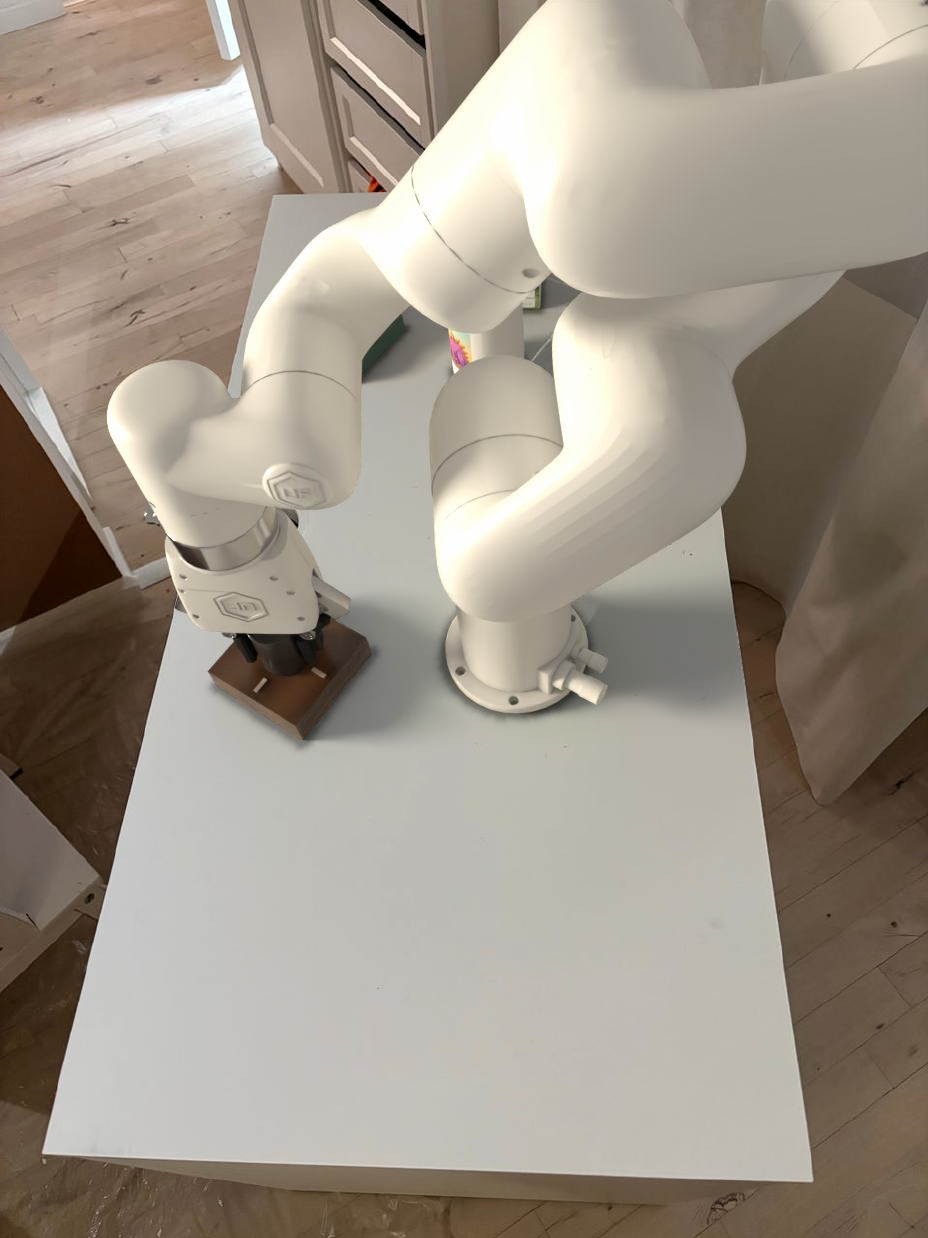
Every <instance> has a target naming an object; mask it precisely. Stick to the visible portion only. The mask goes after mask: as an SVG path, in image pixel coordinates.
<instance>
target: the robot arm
mask: <svg viewBox="0 0 928 1238" xmlns="http://www.w3.org/2000/svg"><path fill="white" fill-rule="evenodd" d="M760 50H761V71H760V76H759V82H758V85H757V84H756V85H749V86H740V87H728V88H727V87H726V88H713V85H712V84H711V80H710V78H709V75H708V71H707V69H706V66H705V63H704V60H703V58H702V56H701V53H700V50H699V48H698V46H697V44H696V41H695V39H694V37H693V35H692V32H691V30H690V29H689V27H688V26H687V24H686V22H685V20H684V19H683V17H682V16H681V14H680V13H679V11H678V10H677V8H675V6H674V5H673V4H672V2H671V1H670V0H546V1H544V3H543V4H542V5H541V6H540V7H539V8H538V9H537V10H536V11H535V12H534V13H533V14H532V16H531V17H530V18H529V19H528V20H527V21H526V23H525V24H524V25H523V26H522V27H521V28H520V30H519V31H518V32H517V34H516V35H515V36H514V37H513V38H512V39H511V41H510V42H509V43H508V45H507V46H506V47H505V49H504V50H503V51H502V52H501V53H500V55H499V56H498V57H497V58H496V60H495V61H494V62H493V64H492V65H491V66H490V67H489V68H488V70H487V71H486V72H485V74H484V75H483V76H482V77H481V78H480V80H479V81H478V82H477V83H476V85H475V86H474V87H473V88H472V90H471V91H470V92H469V94H468V95H467V96H466V98H464V100H463V102H462V103H461V104H460V105H459V106H458V108H457V109H456V110H455V111H454V112H453V114H452V115H451V117H450V118H449V119H448V120H447V122H445V124H444V126H443V127H442V128H441V129H440V130H439V132H438V133H437V134H436V136H435V137H434V138H433V139H432V140H431V142H430V143H429V144H428V146H427V147H426V148H425V150H423V152H422V153H421V154H420V156H419V157H418V158H417V159H416V160H415V161H414V163H412V165H411V166H410V168H409V169H408V170H407V172H406V173H405V174H404V176H403V177H401V179H400V181H399V182H398V183H396V185H395V186H394V188H393V189H392V190H391V191H390V192H389V194H388V195H387V196H386V197H385V198H384V200H383V201H382V202H381V203H379V205H377V206H374V207H371V208H368V209H364V210H360V211H358V212H355V213H354V214H352V215H350V216H348V217H346V218H344V219H342V220H340V221H338V222H336V223H334V224H332V225H330V226H329V227H327V228H325V229H324V230H322V231H320V233H318V234H317V235H316V236H315V237H314V238H313V239H311V241H309V243H308V244H307V245H306V246H305V247H304V248H303V249H302V251H301V252H300V253H299V254H298V256H297V257H296V258H295V259H294V261H293V262H292V263H291V264H290V265H289V267H288V269H287V270H286V271H285V272H284V274H283V275H282V276H281V278H280V279H279V281H278V282H277V283H276V284H275V286H274V287H273V288H272V290H271V291H270V293H268V296H267V297H266V299H264V301H263V303H262V304H261V306H260V308H259V309H258V311H257V313H256V315H255V317H254V319H253V321H252V323H251V325H250V328H249V331H248V335H247V338H246V343H245V348H244V355H243V363H242V373H241V385H240V396H238V397H232V396H231V393H229V390H228V389H227V386H226V385H225V383H224V382H223V381H222V380H221V378H220V377H219V376H218V375H217V374H216V373H215V372H213V371H212V369H210V368H208V367H206V366H204V365H202V364H200V363H198V362H195V361H191V360H185V359H169V360H161V361H157V362H153V363H150V364H147V365H146V366H143V367H141V368H139V369H137V370H135V371H133V373H131V374H129V375H128V376H127V377H125V379H123V380H122V381H121V383H119V384H118V385H117V386H116V388H115V390H114V391H113V393H112V395H111V398H110V400H109V403H108V405H107V411H106V421H107V422H106V423H107V428H108V432H109V435H110V437H111V439H112V441H113V443H114V445H115V447H116V449H117V451H118V452H119V455H120V456H121V457H122V459H123V461H124V463H125V464H126V466H127V468H128V469H129V472H130V474H131V475H132V476H133V479H134V481H135V482H136V484H137V486H138V487H139V489H140V490H141V492H142V494H143V496H144V498H145V499H146V501H147V502H148V504H149V505H147V506H146V507H145V509H144V520H145V522H146V524H147V525H156V526H157V527H159V528H160V529H163V531H164V532H165V535H166V537H165V540H164V551H165V557H166V561H167V565H168V569H169V572H170V576H171V579H172V582H173V585H174V588H175V590H176V592H177V593H176V594H177V596H176V600H175V604H174V609H175V610H176V611H178V612H180V613H183V614H186V615H188V616H189V618H190V620H191V621H192V623H194V625H195V626H197V627H198V628H199V629H201V630H204V631H208V632H213V633H221V635H222V636H223V637H224V638H227V639H232V640H233V641H232V642H235V644H236V646H237V648H238V649H240V650H241V652H242V654H243V656H244V658H245V659H246V661H247V663H254V662H255V661H257V656H258V654H257V652H256V650H255V648H254V646H253V644H252V642H251V641H250V639H249V637H248V635H247V633H256V634H298V635H297V645H298V647H299V649H300V651H301V654H302V656H303V658H304V660H305V662H306V663H307V664H315V660H316V654H317V651H322V649H323V644H324V635H323V632H322V630H321V629H322V628H324V627H326V626H327V625H329V624H330V621H331V620H332V619H334V620H338V619H340V618H342V617H344V616H347V615H349V614H350V609H351V604H352V598H351V597H350V596H348V595H347V594H345V593H343V592H342V591H340V590H339V589H337V588H335V587H334V586H332V585H331V584H329V583H327V582H325V581H324V579H323V576H322V573H321V570H320V567H319V565H318V563H317V560H316V558H315V556H314V554H313V552H312V551H311V549H310V547H309V545H308V543H307V541H306V539H305V538H304V536H303V535H302V533H301V532H300V530H299V529H298V527H297V526H296V525H295V523H294V522H293V521H292V520H291V518H290V517H289V516H288V515H287V513H286V512H285V511H283V510H282V509H285V510H295V511H318V510H319V511H320V510H325V509H330V508H333V507H336V506H338V505H340V504H341V503H343V502H345V501H346V500H348V498H350V496H351V495H353V493H354V492H355V490H356V488H357V487H358V483H359V480H360V476H361V471H362V378H363V377H362V376H363V375H362V359H363V358H364V356H365V354H366V353H367V351H368V350H369V349H370V347H371V346H372V345H373V344H374V342H375V341H376V340H377V339H378V338H379V337H380V336H381V335H382V333H383V332H384V331H385V330H386V329H387V328H388V327H389V326H390V324H391V323H392V322H393V321H394V320H395V319H396V318H397V317H398V316H399V315H400V314H402V313H403V312H405V311H406V310H407V309H409V308H410V307H413V308H414V309H415V310H417V311H418V312H419V313H420V314H422V315H423V316H425V317H426V318H427V319H429V320H431V321H432V322H434V323H436V324H438V325H440V326H441V327H444V328H445V329H450V330H453V331H456V332H460V333H471V334H478V333H482V332H485V331H488V330H491V329H493V328H494V327H496V326H497V325H499V324H500V323H501V322H502V321H503V320H504V319H506V318H507V317H508V316H509V315H510V314H511V313H512V312H513V311H514V310H515V309H516V308H517V307H518V306H519V305H520V304H521V303H522V302H523V301H524V300H525V299H526V298H527V297H528V296H529V295H530V294H531V293H532V292H533V291H534V290H535V289H536V288H537V287H538V286H539V285H540V284H541V285H542V283H543V282H544V281H545V280H547V278H548V277H549V276H550V275H552V274H553V275H554V276H555V277H556V278H558V279H559V280H561V281H562V282H563V283H565V284H566V285H568V286H569V287H571V288H573V289H574V290H577V291H581V292H580V293H578V295H576V297H575V298H574V299H573V300H572V301H571V302H570V303H569V304H568V305H567V307H566V308H565V309H564V310H563V311H562V313H561V315H560V316H559V318H558V320H557V322H556V325H555V327H554V330H553V334H552V342H551V348H552V349H551V354H552V355H551V356H552V357H551V359H552V372H553V375H552V374H550V373H549V372H548V371H547V369H544V368H543V367H542V366H541V365H539V364H537V363H535V362H534V361H531V360H529V359H526V358H525V357H524V358H520V357H516V356H509V355H494V356H489V357H484V358H481V359H478V360H475V361H473V362H471V363H469V364H467V365H465V366H464V367H462V368H461V369H459V370H458V371H457V372H456V373H455V374H454V373H453V374H452V375H451V376H450V377H449V378H448V379H447V381H446V382H445V383H444V384H443V386H442V387H441V389H440V391H439V392H438V394H437V396H436V398H435V402H434V403H433V407H432V410H431V414H430V419H429V425H428V426H429V427H428V451H429V469H430V487H431V489H430V491H431V497H432V498H431V499H432V510H433V511H432V513H433V531H434V533H433V535H434V548H435V560H436V565H437V569H438V575H439V578H440V579H439V580H440V581H441V584H442V587H443V588H444V591H445V592H446V595H447V596H448V597H449V599H450V600H451V601H452V602H453V603H454V607H455V612H456V615H455V617H454V618H453V619H452V621H451V623H450V625H449V628H448V631H447V634H446V639H445V643H444V644H445V645H444V646H445V648H444V649H445V659H446V665H447V668H448V671H449V673H450V677H451V678H452V680H453V682H454V683H455V685H456V686H457V688H458V689H459V690H460V691H461V692H462V693H463V694H464V695H465V696H466V697H468V698H469V700H472V701H473V702H474V703H476V704H477V705H480V706H482V707H484V708H486V709H488V710H491V711H496V712H500V713H503V714H527V713H533V712H536V711H540V710H544V709H546V708H548V707H551V706H552V705H555V704H556V703H558V702H559V701H561V700H562V699H563V698H565V697H566V696H568V695H569V693H570V692H571V691H572V692H573V693H575V694H577V695H578V697H581V698H582V699H584V700H586V701H588V702H590V703H592V704H594V705H596V706H599V705H600V703H601V702H602V701H603V699H604V698H605V696H606V693H607V691H608V688H609V685H608V684H607V683H605V682H603V681H601V680H599V679H597V678H596V677H594V676H592V675H590V674H589V675H588V674H586V673H584V672H585V669H586V666H587V667H588V668H590V669H591V670H593V671H596V672H597V673H600V674H602V673H603V672H604V671H605V669H606V667H607V665H608V663H609V658H608V657H606V656H604V655H602V654H600V653H598V652H597V651H592V650H591V649H589V638H588V635H587V629H586V627H585V625H584V623H583V621H582V619H581V617H580V615H579V614H578V613H577V612H576V610H575V609H574V608H573V606H572V604H573V603H574V602H575V601H576V600H578V599H579V598H582V597H584V596H585V595H587V594H589V593H590V592H593V591H594V590H596V589H597V588H599V587H600V586H602V585H604V584H606V583H608V582H609V581H611V580H612V579H614V578H616V577H618V576H620V575H621V574H623V573H624V572H626V571H628V570H630V569H632V568H633V567H635V566H637V565H638V564H639V563H641V562H644V561H645V560H647V559H648V558H650V557H651V556H654V555H655V554H657V553H658V552H660V551H661V550H663V549H665V548H667V547H669V546H670V545H672V544H673V543H676V542H677V541H679V540H680V539H682V538H683V537H685V536H687V535H688V534H690V533H691V532H693V531H695V530H696V529H698V528H700V527H701V525H703V524H704V523H706V522H707V521H708V520H709V519H711V518H712V517H713V516H714V515H715V514H716V513H717V512H718V511H719V510H720V509H721V508H722V507H723V505H724V504H725V503H726V502H727V500H728V499H729V498H730V497H731V495H732V494H733V492H734V490H735V489H736V487H737V485H738V484H739V481H740V479H741V477H742V474H743V472H744V468H745V464H746V458H747V437H746V436H747V435H746V429H745V424H744V420H743V415H742V411H741V408H740V405H739V402H738V398H737V394H736V391H735V387H734V384H733V383H734V382H733V379H734V376H735V373H736V370H737V368H738V367H739V366H740V365H741V363H743V362H744V360H746V359H747V358H748V357H749V356H751V354H753V353H754V352H755V351H756V350H758V349H759V348H760V347H762V346H763V345H764V344H765V343H767V342H768V341H769V340H770V339H772V338H773V337H774V336H776V335H777V334H778V333H779V332H781V331H782V330H783V329H785V328H786V327H787V326H788V325H789V324H791V323H792V322H794V321H795V320H796V319H798V318H799V317H800V316H801V315H803V314H804V313H805V312H806V311H808V310H809V309H810V308H811V307H812V306H814V305H815V304H816V303H817V302H818V301H819V300H821V298H823V297H824V296H825V295H826V294H827V292H829V291H830V290H831V289H832V288H833V286H834V285H835V284H836V283H837V282H838V281H839V279H841V277H842V276H843V275H844V274H845V273H846V272H847V271H849V270H854V269H861V268H868V267H869V268H870V267H873V266H878V265H883V264H887V263H893V262H896V261H900V260H904V259H905V260H906V259H908V258H912V257H916V256H918V255H921V254H924V253H927V252H928V0H766V3H765V6H764V12H763V17H762V23H761V31H760Z"/></svg>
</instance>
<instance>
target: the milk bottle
mask: <svg viewBox="0 0 928 1238" xmlns="http://www.w3.org/2000/svg"><path fill="white" fill-rule="evenodd" d="M447 329H448V328H447ZM524 330H525V329H524V309H523V306H522V303H521V304H520V305H519V306H518V307H517V308H516V309H515V310H514V311H513V312H512V313H511V314H510V315H509V316H508V317H507V318H506V319H504V320H503V321H502V322H501V323H500V324H499V325H497V326H496V327H494V328H493V329H491V330H488V331H485V332H482V333H478V334H471V333H460V332H456V331H453V330H450V329H448V338H449V345H450V346H449V347H450V355H451V362H452V369H453V374H455V373H456V372H457V371H458V370H459V369H461V368H462V367H464V366H465V365H467V364H469V363H471V362H473V361H475V360H478V359H481V358H484V357H489V356H494V355H509V356H516V357H520V358H524V359H525V337H524V334H525V333H524V332H525V331H524Z"/></svg>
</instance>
